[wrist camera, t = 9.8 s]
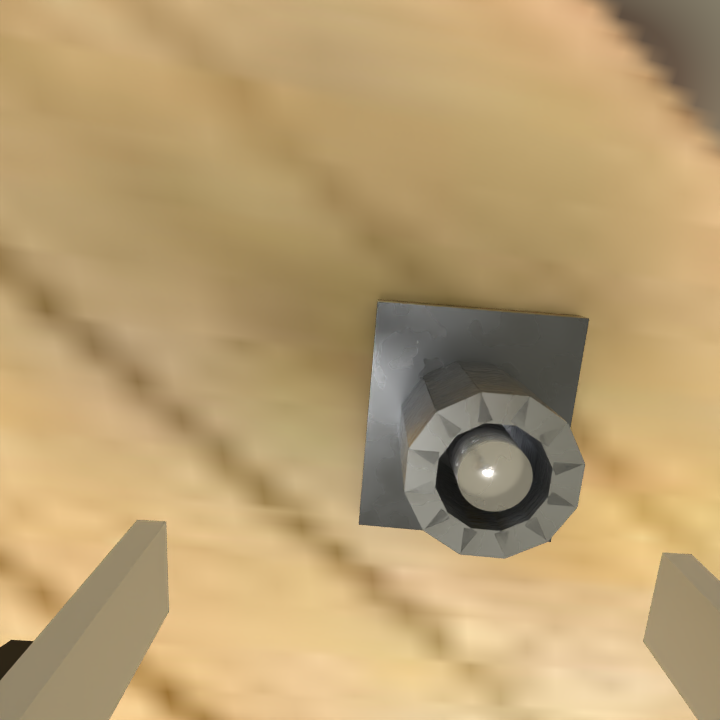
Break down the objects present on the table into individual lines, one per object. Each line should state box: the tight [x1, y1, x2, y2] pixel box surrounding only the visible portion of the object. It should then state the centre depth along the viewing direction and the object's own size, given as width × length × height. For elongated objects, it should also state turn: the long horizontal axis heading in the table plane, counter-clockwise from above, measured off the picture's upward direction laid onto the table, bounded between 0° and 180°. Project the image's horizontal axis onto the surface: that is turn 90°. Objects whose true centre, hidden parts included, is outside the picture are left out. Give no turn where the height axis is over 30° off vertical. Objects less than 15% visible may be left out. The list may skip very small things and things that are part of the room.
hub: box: [398, 361, 585, 558], centre depth 26 cm, size 8×8×7 cm
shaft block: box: [359, 299, 589, 542], centre depth 27 cm, size 14×12×8 cm
